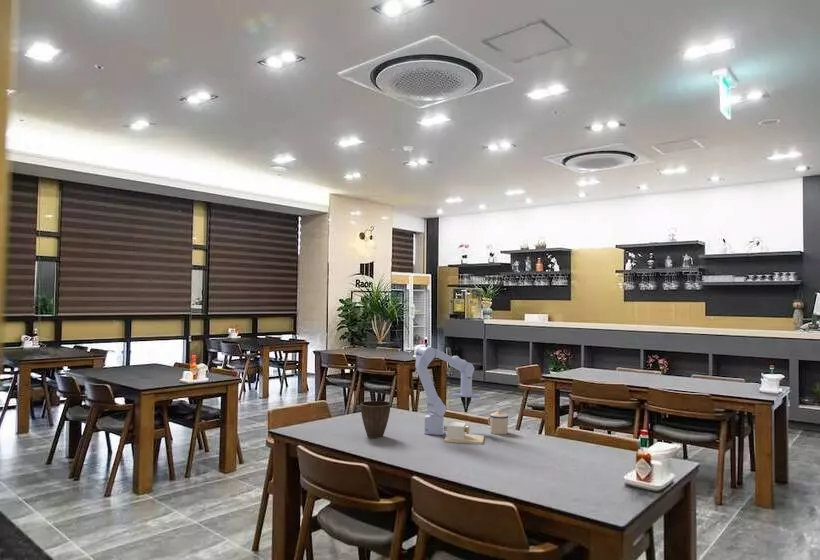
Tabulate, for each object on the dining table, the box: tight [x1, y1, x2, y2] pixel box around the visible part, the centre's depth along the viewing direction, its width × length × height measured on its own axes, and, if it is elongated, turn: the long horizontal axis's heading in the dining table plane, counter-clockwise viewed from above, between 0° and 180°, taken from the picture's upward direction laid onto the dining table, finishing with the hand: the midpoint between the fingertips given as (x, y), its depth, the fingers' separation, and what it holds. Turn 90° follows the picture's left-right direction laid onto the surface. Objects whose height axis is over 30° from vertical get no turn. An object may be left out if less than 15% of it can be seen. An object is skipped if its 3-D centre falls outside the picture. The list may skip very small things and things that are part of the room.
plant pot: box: [359, 400, 392, 439], centre depth 277 cm, size 15×15×16 cm
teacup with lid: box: [487, 409, 509, 436], centre depth 292 cm, size 12×9×12 cm
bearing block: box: [443, 421, 485, 445], centre depth 274 cm, size 18×14×7 cm
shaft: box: [443, 425, 470, 434], centre depth 275 cm, size 12×4×4 cm, turn 80°
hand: (465, 412), depth 295 cm, fingers closed
